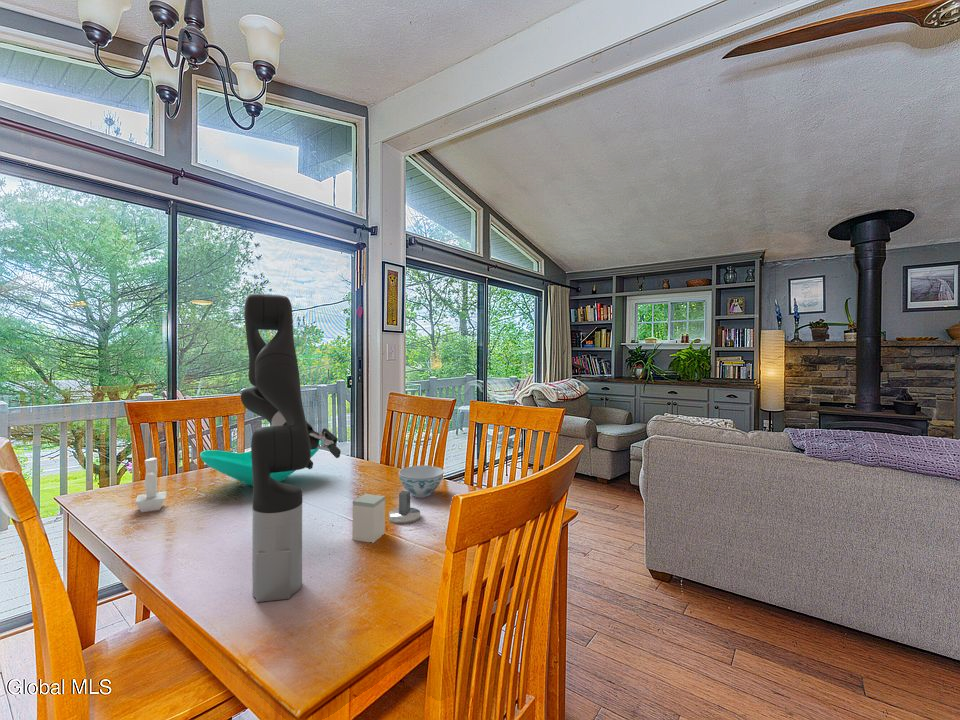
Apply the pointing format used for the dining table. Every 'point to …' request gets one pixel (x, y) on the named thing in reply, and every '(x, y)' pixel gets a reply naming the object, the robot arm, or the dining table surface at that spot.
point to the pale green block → (368, 518)
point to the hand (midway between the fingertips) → (325, 460)
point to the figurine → (150, 489)
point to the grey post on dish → (404, 510)
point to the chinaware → (421, 479)
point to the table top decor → (238, 465)
